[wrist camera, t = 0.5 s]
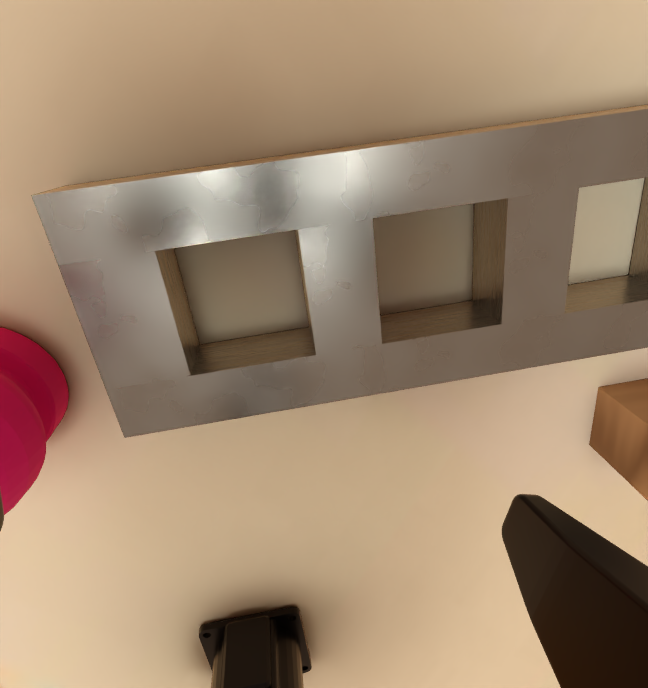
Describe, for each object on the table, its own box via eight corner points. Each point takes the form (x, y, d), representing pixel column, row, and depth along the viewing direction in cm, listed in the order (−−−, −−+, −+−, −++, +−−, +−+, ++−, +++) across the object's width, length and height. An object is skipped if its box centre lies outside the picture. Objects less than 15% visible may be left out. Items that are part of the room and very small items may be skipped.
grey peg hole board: (682, 309, 24) (736, 332, 21) (141, 400, 22) (124, 437, 20) (733, 92, 20) (809, 86, 17) (65, 185, 18) (31, 195, 15)
